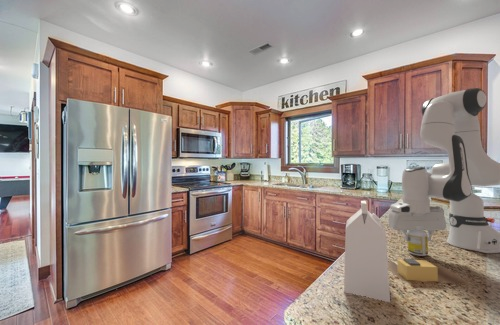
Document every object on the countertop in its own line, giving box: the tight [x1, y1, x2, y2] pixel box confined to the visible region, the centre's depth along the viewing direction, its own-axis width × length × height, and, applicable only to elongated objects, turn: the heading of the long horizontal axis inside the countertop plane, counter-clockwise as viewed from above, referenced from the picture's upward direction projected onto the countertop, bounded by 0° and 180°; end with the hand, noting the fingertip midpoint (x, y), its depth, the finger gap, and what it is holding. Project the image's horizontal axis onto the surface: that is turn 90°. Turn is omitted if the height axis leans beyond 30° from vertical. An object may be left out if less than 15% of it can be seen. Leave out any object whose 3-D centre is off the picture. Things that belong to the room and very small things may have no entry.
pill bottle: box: [406, 226, 429, 257], centre depth 88 cm, size 6×6×12 cm
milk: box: [343, 200, 391, 303], centre depth 67 cm, size 12×12×26 cm
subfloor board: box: [388, 261, 473, 285], centre depth 73 cm, size 20×14×1 cm
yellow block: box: [396, 258, 438, 282], centre depth 70 cm, size 9×5×5 cm, turn 84°
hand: (417, 240), depth 88 cm, fingers closed on pill bottle, 6 cm apart
